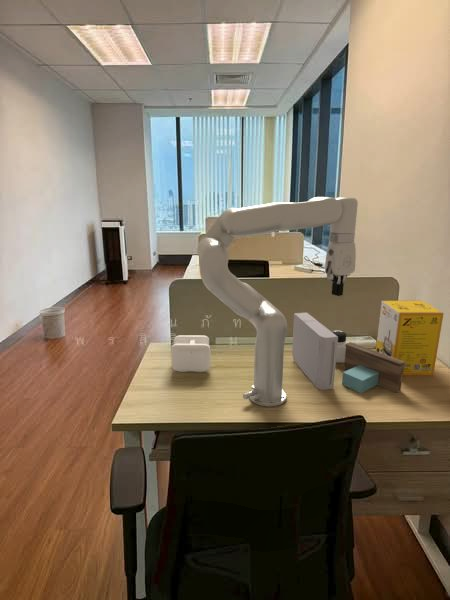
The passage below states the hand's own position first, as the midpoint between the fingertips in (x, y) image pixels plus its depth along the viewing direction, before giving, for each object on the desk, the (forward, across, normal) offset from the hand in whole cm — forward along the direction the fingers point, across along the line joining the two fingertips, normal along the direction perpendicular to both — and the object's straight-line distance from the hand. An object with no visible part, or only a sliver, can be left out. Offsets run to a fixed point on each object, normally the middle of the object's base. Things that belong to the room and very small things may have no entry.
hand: (337, 294), depth 126 cm
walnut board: (+35, +19, -4) cm, 40 cm away
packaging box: (+35, +40, -5) cm, 54 cm away
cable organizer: (+35, -28, +45) cm, 64 cm away
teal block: (+35, +13, -4) cm, 38 cm away
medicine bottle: (+35, +24, +15) cm, 45 cm away
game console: (+35, +6, +13) cm, 38 cm away
